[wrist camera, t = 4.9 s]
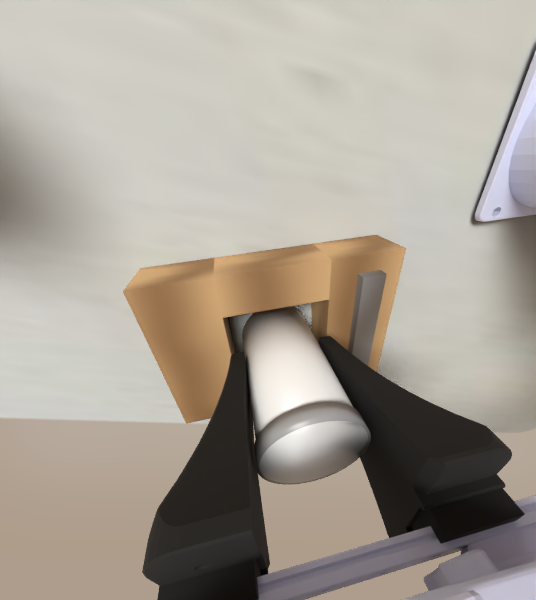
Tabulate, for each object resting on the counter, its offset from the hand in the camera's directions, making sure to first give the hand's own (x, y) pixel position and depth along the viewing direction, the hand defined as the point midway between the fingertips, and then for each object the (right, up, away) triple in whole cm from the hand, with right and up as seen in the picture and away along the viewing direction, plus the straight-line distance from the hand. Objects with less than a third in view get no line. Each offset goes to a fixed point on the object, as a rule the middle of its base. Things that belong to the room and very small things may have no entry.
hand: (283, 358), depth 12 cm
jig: (-1, +2, +3) cm, 3 cm away
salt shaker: (0, +1, +2) cm, 2 cm away
